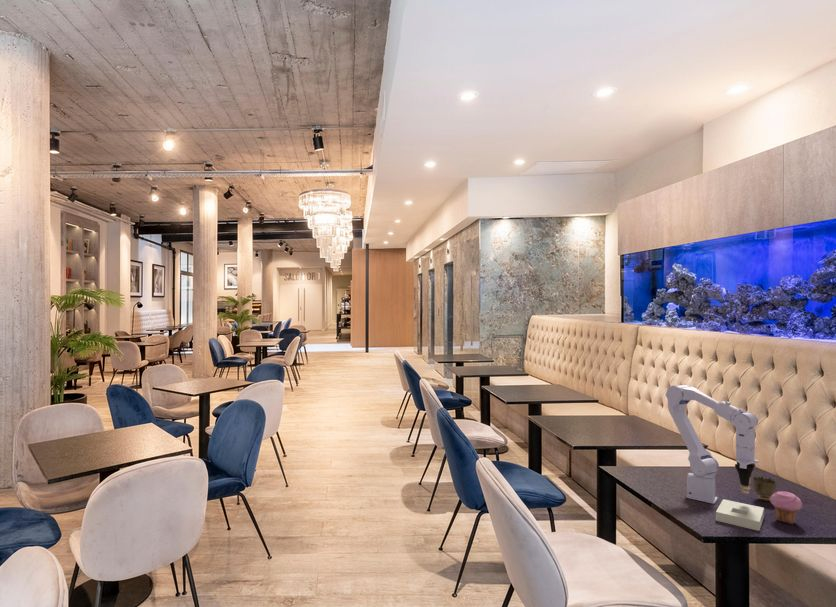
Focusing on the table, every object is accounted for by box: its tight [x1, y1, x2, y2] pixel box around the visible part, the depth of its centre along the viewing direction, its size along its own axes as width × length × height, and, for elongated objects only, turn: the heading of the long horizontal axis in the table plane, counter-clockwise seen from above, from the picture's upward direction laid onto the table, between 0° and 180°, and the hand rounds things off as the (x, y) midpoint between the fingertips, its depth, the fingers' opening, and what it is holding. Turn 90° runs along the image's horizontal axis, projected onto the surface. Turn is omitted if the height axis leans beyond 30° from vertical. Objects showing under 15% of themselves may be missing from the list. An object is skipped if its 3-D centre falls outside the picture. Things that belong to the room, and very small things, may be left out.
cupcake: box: [770, 491, 803, 525], centre depth 175 cm, size 9×9×10 cm
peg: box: [739, 479, 751, 494], centre depth 182 cm, size 3×3×8 cm
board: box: [715, 498, 765, 531], centre depth 176 cm, size 12×16×3 cm
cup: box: [752, 475, 777, 502], centre depth 195 cm, size 8×7×8 cm
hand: (745, 484), depth 182 cm, fingers closed on peg, 3 cm apart
